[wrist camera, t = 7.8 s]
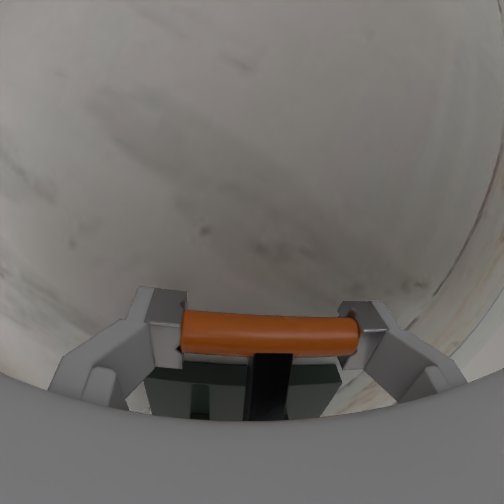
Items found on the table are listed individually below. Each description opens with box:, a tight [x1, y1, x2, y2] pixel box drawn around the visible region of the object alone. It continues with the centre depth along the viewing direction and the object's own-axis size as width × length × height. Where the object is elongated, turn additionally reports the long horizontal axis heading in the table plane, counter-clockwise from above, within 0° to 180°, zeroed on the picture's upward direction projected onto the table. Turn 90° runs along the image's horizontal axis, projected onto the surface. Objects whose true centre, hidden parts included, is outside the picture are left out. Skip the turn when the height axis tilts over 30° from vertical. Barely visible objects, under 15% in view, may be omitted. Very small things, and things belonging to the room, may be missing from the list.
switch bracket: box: [144, 361, 342, 421], centre depth 10 cm, size 10×9×10 cm
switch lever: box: [180, 310, 359, 421], centre depth 8 cm, size 13×5×2 cm, turn 172°
